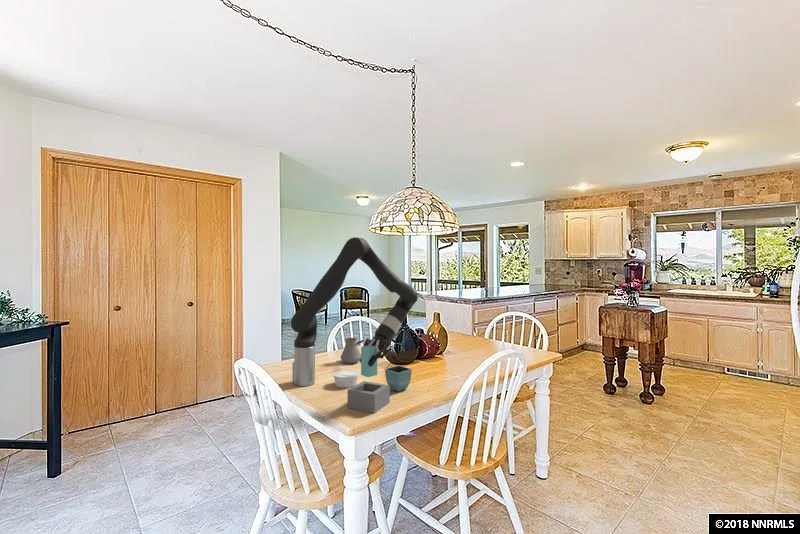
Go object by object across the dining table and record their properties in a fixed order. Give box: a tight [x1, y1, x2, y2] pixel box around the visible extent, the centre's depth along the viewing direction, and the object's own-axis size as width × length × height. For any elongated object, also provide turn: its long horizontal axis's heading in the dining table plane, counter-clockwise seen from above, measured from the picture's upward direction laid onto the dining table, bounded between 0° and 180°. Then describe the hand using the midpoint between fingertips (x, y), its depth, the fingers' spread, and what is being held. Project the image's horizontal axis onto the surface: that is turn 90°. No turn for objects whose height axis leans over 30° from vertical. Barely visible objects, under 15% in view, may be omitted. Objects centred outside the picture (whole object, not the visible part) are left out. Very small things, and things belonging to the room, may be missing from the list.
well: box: [346, 380, 391, 414], centre depth 153 cm, size 12×12×7 cm
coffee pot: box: [340, 337, 365, 365], centre depth 212 cm, size 21×12×15 cm, turn 32°
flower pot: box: [384, 365, 413, 392], centre depth 172 cm, size 9×9×9 cm
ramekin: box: [333, 369, 359, 389], centre depth 178 cm, size 11×11×5 cm
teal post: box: [360, 345, 378, 378], centre depth 153 cm, size 4×4×11 cm
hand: (365, 363), depth 152 cm, fingers closed on teal post, 4 cm apart
